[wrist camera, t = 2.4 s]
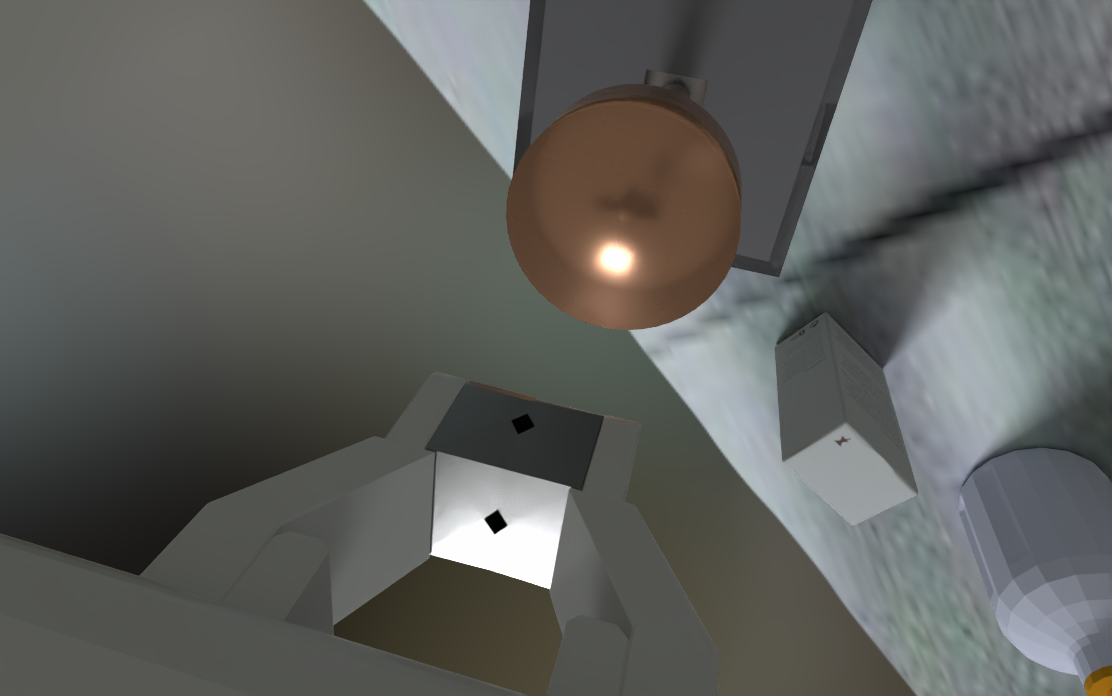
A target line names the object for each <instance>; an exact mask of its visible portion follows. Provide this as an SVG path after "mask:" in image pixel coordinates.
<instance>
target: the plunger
mask: <svg viewBox="0 0 1112 696" xmlns="http://www.w3.org/2000/svg"><path fill="white" fill-rule="evenodd" d="M707 85H708V81H707V80H702V79H696V78H691V77H685V76H680V75H675V74H669V73H664V72H658V71H653V70H648V74H647V80H646V84H623V85H617V86H610V87H607V88H604V89H601V90H597V91H595V92H593V93H591V94H588V95H586V96H584V97H582V98H581V99H579V100H578V101H576V102H575V103H573V104H572V105H570V106H569V107H568V108H567V109H566V110H565V111H564V112H562V113H561V114H560V115H559V116H558V117H557V118H556V119H555V120H554V121H553V122H552V123H551V124H550V125H549V127H548V128H547V129H546V130H545V131H544V132H543V133H542V134H541V135H540V136H539V137H538V138H537V139H536V140H535V141H534V142H533V144H532V145H531V146H530V147H529V148H528V149H527V151H526V152H525V154H524V155H523V157H522V158H521V160H520V162H519V164H518V166H517V168H516V170H515V172H514V174H513V177H512V181H511V184H510V187H509V192H508V198H507V210H506V211H507V212H506V219H507V229H508V234H509V238H510V243H511V246H512V249H513V251H514V254H515V257H516V259H517V261H518V263H519V265H520V267H521V269H522V271H523V272H524V273H525V275H526V276H527V278H528V279H529V281H530V282H531V283H532V285H533V286H534V287H535V288H536V289H537V290H538V291H539V293H540V294H542V295H543V296H544V297H545V298H546V299H547V300H548V301H549V302H551V303H552V304H553V305H555V306H556V307H557V308H559V309H561V310H562V311H563V312H565V313H567V314H569V315H571V316H573V317H575V318H577V319H579V320H582V321H584V322H586V323H589V324H593V325H596V326H600V327H605V328H611V329H623V330H635V329H645V328H651V327H657V326H660V325H663V324H666V323H670V322H672V321H674V320H676V319H679V318H681V317H683V316H685V315H686V314H688V313H690V312H691V311H693V310H695V309H696V308H697V307H698V306H700V305H701V304H702V303H704V302H705V301H706V300H707V299H708V298H709V297H710V296H711V295H712V294H713V293H714V292H715V291H716V289H717V288H718V287H719V285H720V284H721V283H722V281H723V280H724V279H725V277H726V275H727V273H728V271H729V269H730V268H731V266H732V263H733V260H734V258H735V255H736V252H737V248H738V243H739V239H740V228H741V204H742V182H741V172H740V167H739V163H738V159H737V156H736V154H735V151H734V148H733V146H732V144H731V142H730V140H729V138H728V136H727V135H726V133H725V132H724V130H723V129H722V128H721V126H720V125H719V123H718V122H717V121H716V120H715V119H714V118H713V117H712V116H711V115H710V114H709V113H708V112H707V111H706V110H705V109H703V108H702V106H703V102H704V97H705V93H706V89H707Z"/></svg>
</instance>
